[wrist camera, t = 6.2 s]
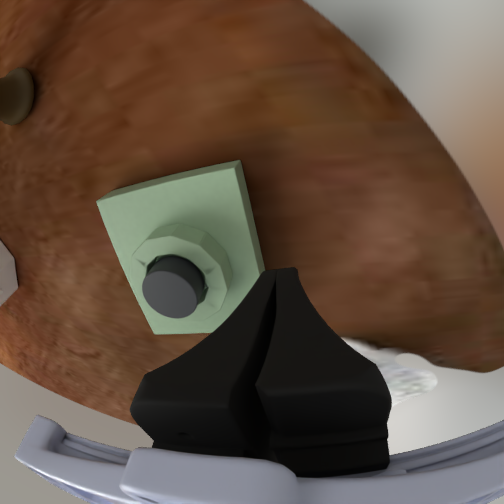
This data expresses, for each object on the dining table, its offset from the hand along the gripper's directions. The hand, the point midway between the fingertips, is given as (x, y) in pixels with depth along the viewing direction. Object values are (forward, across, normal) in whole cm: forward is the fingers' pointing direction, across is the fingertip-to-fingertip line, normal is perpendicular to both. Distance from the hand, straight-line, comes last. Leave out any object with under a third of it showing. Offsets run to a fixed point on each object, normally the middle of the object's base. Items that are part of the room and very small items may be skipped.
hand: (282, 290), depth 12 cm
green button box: (+9, +7, +2) cm, 12 cm away
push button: (+5, +7, +2) cm, 9 cm away
